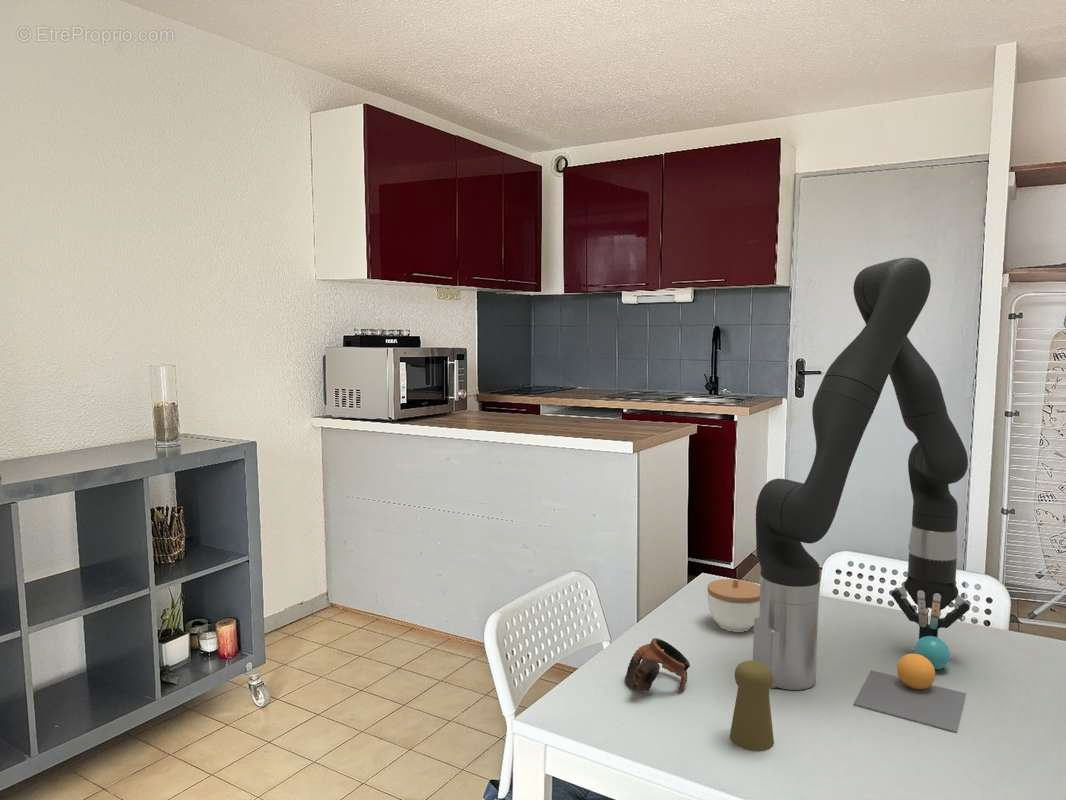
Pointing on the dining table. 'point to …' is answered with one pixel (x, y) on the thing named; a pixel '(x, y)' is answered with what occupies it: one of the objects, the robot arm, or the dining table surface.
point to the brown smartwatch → (655, 664)
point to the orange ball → (916, 671)
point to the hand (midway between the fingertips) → (927, 646)
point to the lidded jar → (734, 603)
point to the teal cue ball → (933, 651)
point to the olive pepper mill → (752, 707)
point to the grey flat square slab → (912, 701)
